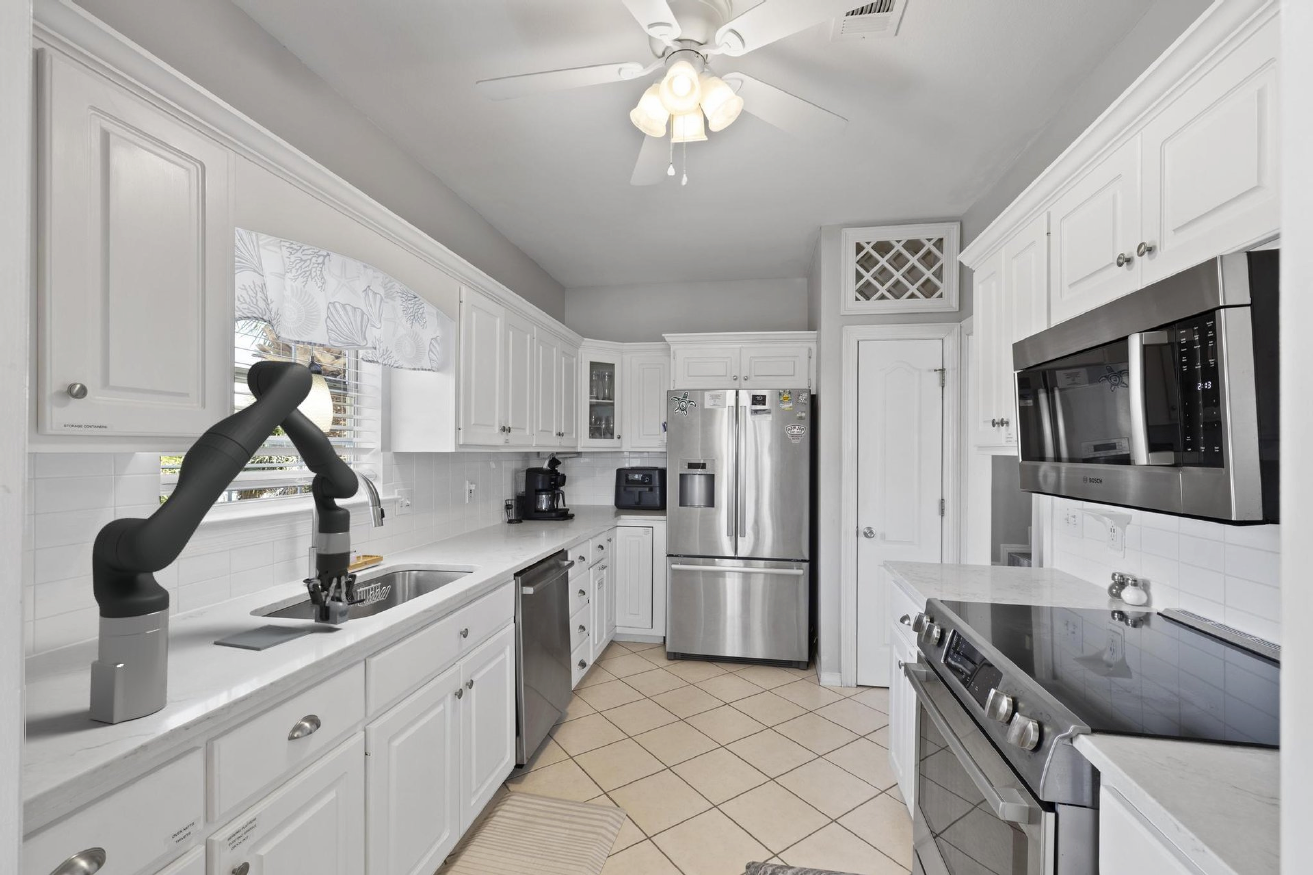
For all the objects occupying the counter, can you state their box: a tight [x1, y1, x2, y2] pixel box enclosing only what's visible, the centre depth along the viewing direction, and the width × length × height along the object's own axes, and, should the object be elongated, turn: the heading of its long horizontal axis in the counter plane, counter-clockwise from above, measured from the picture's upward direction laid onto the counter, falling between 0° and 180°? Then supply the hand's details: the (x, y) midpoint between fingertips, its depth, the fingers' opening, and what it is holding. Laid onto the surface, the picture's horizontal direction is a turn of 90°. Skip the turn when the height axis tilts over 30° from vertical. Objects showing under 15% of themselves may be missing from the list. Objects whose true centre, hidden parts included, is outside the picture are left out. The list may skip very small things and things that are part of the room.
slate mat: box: [213, 624, 314, 651], centre depth 144 cm, size 14×14×1 cm
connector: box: [312, 599, 350, 626], centre depth 152 cm, size 4×8×5 cm, turn 73°
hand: (331, 618), depth 152 cm, fingers closed on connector, 3 cm apart
